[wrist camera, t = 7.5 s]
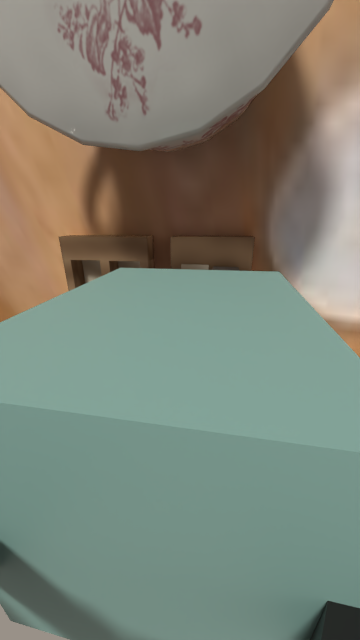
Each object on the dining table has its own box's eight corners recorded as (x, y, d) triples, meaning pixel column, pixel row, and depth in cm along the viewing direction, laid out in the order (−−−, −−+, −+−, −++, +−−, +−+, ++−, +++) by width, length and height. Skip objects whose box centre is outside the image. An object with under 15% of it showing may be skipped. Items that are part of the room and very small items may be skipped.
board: (245, 312, 37) (251, 342, 28) (174, 308, 39) (158, 336, 30) (253, 236, 33) (263, 243, 24) (173, 235, 35) (154, 242, 26)
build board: (156, 307, 39) (151, 314, 37) (82, 303, 42) (72, 309, 39) (153, 235, 35) (146, 237, 33) (70, 235, 37) (58, 236, 35)
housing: (259, 409, 18) (307, 714, 7) (133, 394, 19) (10, 620, 8) (279, 271, 14) (460, 465, 3) (120, 267, 16) (-136, 384, 5)
